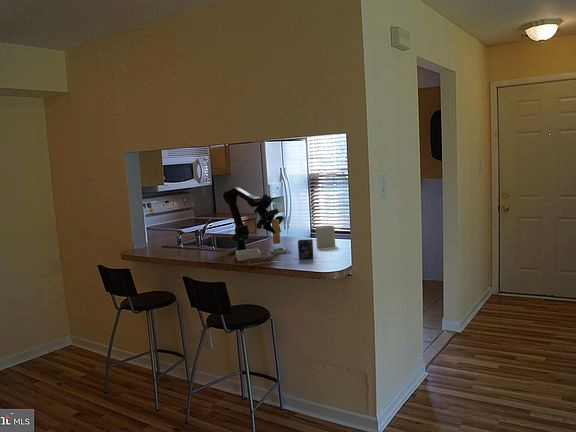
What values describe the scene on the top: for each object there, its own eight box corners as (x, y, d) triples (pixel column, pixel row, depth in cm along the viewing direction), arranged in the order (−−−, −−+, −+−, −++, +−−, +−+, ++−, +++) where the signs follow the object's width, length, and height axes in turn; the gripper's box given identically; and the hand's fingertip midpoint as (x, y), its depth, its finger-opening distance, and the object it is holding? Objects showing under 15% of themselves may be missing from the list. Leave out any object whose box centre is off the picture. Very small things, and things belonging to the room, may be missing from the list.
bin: (235, 257, 307) (235, 250, 306) (258, 254, 309) (257, 248, 309) (238, 261, 293) (237, 255, 293) (261, 259, 296) (260, 252, 295)
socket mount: (265, 253, 312) (264, 248, 312) (287, 250, 315) (287, 246, 314) (268, 257, 299) (268, 252, 298) (292, 255, 301) (291, 250, 301)
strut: (272, 242, 307) (271, 220, 305) (279, 242, 308) (278, 219, 306) (273, 244, 303) (272, 221, 301) (281, 243, 304) (279, 220, 302)
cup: (334, 247, 316) (333, 228, 314) (315, 247, 318) (314, 229, 316) (336, 243, 327) (335, 225, 325) (318, 244, 329) (317, 226, 328)
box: (298, 259, 287) (297, 241, 286) (300, 257, 293) (298, 239, 291) (312, 259, 286) (311, 240, 285) (313, 257, 292) (312, 239, 290)
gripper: (258, 206, 299) (272, 226, 292) (280, 202, 312) (294, 221, 305) (250, 219, 305) (264, 238, 299) (272, 214, 318) (286, 233, 312)
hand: (277, 232), depth 304 cm, fingers closed on strut, 4 cm apart
